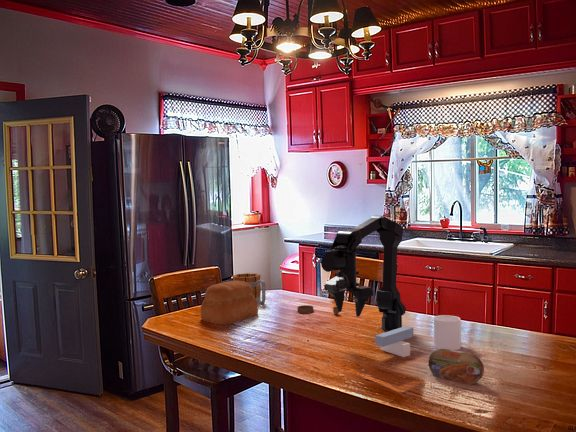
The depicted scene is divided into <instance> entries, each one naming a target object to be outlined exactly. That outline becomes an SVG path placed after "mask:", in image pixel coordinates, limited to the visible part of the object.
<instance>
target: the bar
mask: <svg viewBox="0 0 576 432" xmlns="http://www.w3.org/2000/svg"><path fill="white" fill-rule="evenodd" d="M413 337H414V327H412V326H407V325H405V326H402V327H401V328H398V329H395V330H391V331H386V332H382V333H378V334H376V335H375V336H374V343H375V344H374V345H375V346H377V347H380V348H381V347H384V346H387V345H390V344H393V343H396V342H399V341H404V340H408V339H410V338H413Z"/></svg>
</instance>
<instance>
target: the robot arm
mask: <svg viewBox="0 0 576 432" xmlns="http://www.w3.org/2000/svg"><path fill="white" fill-rule="evenodd" d="M374 232H376V233H377V234H378V237H379V241H380V243H381V245H382V246H383V247H382V248H383V256H382V259H383V261H382V286H381V287H380V289H379V290H376V299H375V302H376V305H377V308H378V311H379V313H381V314H382V317H381V327H380V328H381V329H382V330H384V331H386V332H388V331H391V330H395V329H398V328H401V327H403V320H402V318H403V316H404V315H406V310H407V307H406V305H404V303H403V302H402V299H401V293H400V291H399V289H398V288H397V275H398V274H397V273H398V272H397V271H398V270H397V268H398V267H397V266H398V247H399V246H400V244H401V242H403V241H402V240H403V233H404V228H403V226H402V225H401V224H400V223H398V222H396V221H393V220H392V219H389V218H388V217H386V216H385V215H371V217H370V218H369V219H367V220H365V221H364V222H362V223H360V224H358V225H357V226H355V227H353V228H348V229H343V230H339V231H337V232H336V234H335V235H336V236H335V237H334V239H333V242H332V245H331V246H330V249H329V250H325V254H324V255H323V256H322V258H321V260H320V265H321V268H322V269H323V271H325V272H327V273H328V272H329V273H330V272H336V273H335V276H334V277H332V278H331V279H329V280H327V281H326V282H325V284H324V291H326V292H327V294H329V295H330V296H332V298H333V301H334V303H335V307H337V309H338V312H339V313H341V312H342V311H343V305H344V298H345V293H346V292H349V293H352V295H353V296H352V297H351V298H352V300H353V301H354V303H355V304H354V305H355V306H354V307H355V315H356V317H360V316H361V314H362V313H363V312H362V311H363V310H364V308H365V305H366V303H367V301H368V300H369V299H370V298H371V297H373V296H374V289H373V288H372V286H369V285H368V286H366V285H362V286H360V283H359V282H357V281H358V280H357V275H359V274H360V271H359V270H357V255H359V254H361V252H360V250H359V249H358V248H357V247H358V246H360V244H361V243H362V241H363V239H365V238H366V237H367V236H369V235H371V234H373V233H374Z"/></svg>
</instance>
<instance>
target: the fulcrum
mask: <svg viewBox="0 0 576 432" xmlns="http://www.w3.org/2000/svg"><path fill="white" fill-rule="evenodd" d="M380 350H381V351H383V352H387V353H389V354H393V355H396V356H399V357H402V358H405V357H409V356H411V343H410V342H407V341H404V340H402V341H399V342H396V343H393V344H390V345H387V346H384V347H381V346H380Z"/></svg>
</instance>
